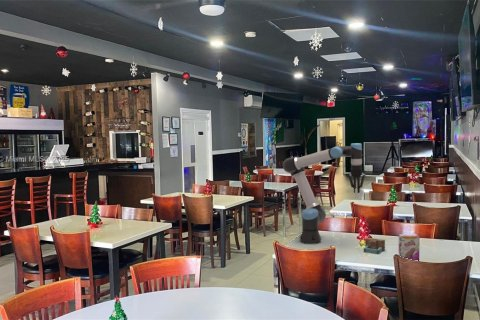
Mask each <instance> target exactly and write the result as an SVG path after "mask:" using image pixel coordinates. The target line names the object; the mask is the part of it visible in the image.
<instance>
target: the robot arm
mask: <svg viewBox="0 0 480 320" xmlns="http://www.w3.org/2000/svg"><path fill="white" fill-rule="evenodd" d="M362 147H363V145H362V143H361V142H360V143H359V142H358V143H357V142H356V143H350V145H348V146H347V145H345V146H344V145H342V146H341V145H337V146H334V147H332V148H328V149H325V150H320V151H317V152H314V153H310V154H306V155H304V156H301V157H298V156H294V157H293V156H292V157H288V158H285V159H284V161H283V163H282V168H283V171H284V172H286V173H288V174H290V176H291V178H294V180H295V182H296V185H297V187H298V190H299V193H300V194H301V197H302V199H303V201H304V204H305V206H306V208H305V209H303V210H302V213H301V221H302V222H301V223H302V224H301V225H302V226H301V230H302V231H301V235H300V238H299V242H300V241H301V242H300V243H302V242H304V243H303V244H306V243H316V244H320V243H321V242H322V237H321V234H320V231H319V225H320V224H321V223H323V222H324V221H325V219H326V217H327V213H326V211H325V209H324V208H323V207H322V206H321V203H318V202H317V199H316V196H315V195H314V193H313V190H312V188H311V185H310V182H309V181H308V179H307V176H306V169H305V167H308V166H309V167H310V166H312V165H315V164H319V163H324V162H327V161H330V160H333V159H339V158H344V157H350V164H351V166H350V167H351V168H350V173H349V174H347V176H348V180H349V182H350V187H351V188H353V193H355V194H354V196H355V198H359V194H360V193H361V191H360V190H361V189H362V188H363V186H364V181H365V178H366V177H367V175H366V174H365V173H364V172H363V165H362V164H363V148H362ZM352 177H353V178H352ZM319 242H320V243H319Z"/></svg>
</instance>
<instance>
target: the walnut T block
mask: <svg viewBox="0 0 480 320" xmlns="http://www.w3.org/2000/svg"><path fill="white" fill-rule="evenodd" d="M366 246H369V249H378V248H379V247H382V252H384V251H386V247H385V246H386V239H381V238H380V239H379V238H371V237H366V238H365V246H364V248H365V247H366Z"/></svg>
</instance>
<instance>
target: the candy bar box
mask: <svg viewBox="0 0 480 320" xmlns="http://www.w3.org/2000/svg"><path fill="white" fill-rule="evenodd" d="M398 256H401V257H404V258H408V259H412V260H418V261H419V262H420V236H419V235H418V234H409V233H408V234H398Z"/></svg>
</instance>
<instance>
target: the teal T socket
mask: <svg viewBox="0 0 480 320" xmlns="http://www.w3.org/2000/svg"><path fill="white" fill-rule="evenodd" d="M382 252H383V251H382V247H379V248H378V249H369V246H366V247H365V246H364V248H363V253H368V254H375V255H380V254H381V253H382Z"/></svg>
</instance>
